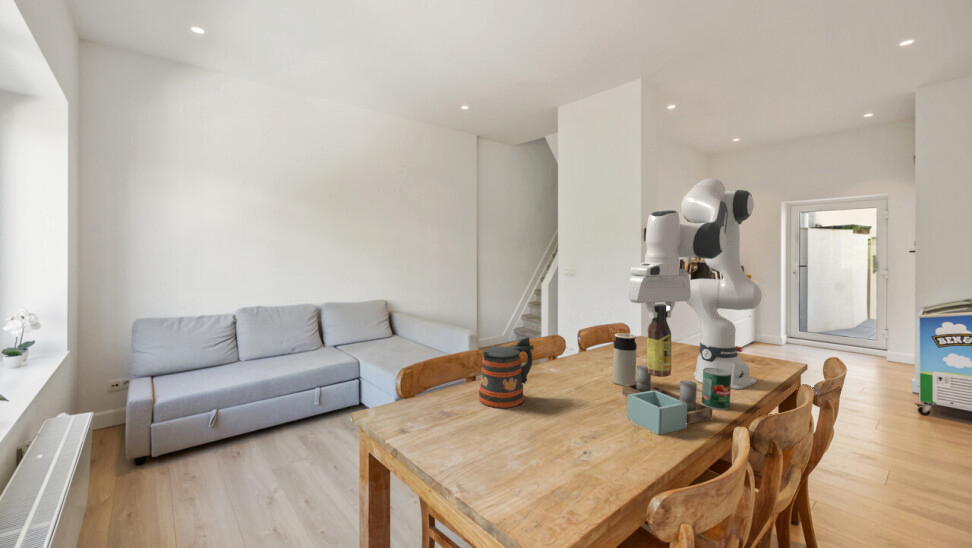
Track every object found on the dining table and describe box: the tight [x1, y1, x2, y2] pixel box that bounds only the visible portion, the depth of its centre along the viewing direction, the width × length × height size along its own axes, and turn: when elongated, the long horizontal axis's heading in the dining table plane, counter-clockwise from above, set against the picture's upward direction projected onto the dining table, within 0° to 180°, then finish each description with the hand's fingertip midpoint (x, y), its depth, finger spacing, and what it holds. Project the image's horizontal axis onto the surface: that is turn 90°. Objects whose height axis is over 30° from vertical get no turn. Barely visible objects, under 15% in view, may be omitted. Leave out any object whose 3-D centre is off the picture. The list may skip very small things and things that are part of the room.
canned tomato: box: [701, 368, 732, 411], centre depth 128 cm, size 8×8×11 cm
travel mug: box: [612, 332, 638, 387], centre depth 149 cm, size 8×8×18 cm
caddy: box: [626, 390, 687, 436], centre depth 114 cm, size 10×12×7 cm
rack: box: [622, 364, 713, 425], centre depth 127 cm, size 10×26×10 cm, turn 24°
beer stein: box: [478, 336, 535, 409], centre depth 131 cm, size 19×15×20 cm
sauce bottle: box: [646, 303, 672, 378], centre depth 113 cm, size 6×6×20 cm
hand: (659, 317), depth 112 cm, fingers closed on sauce bottle, 4 cm apart
